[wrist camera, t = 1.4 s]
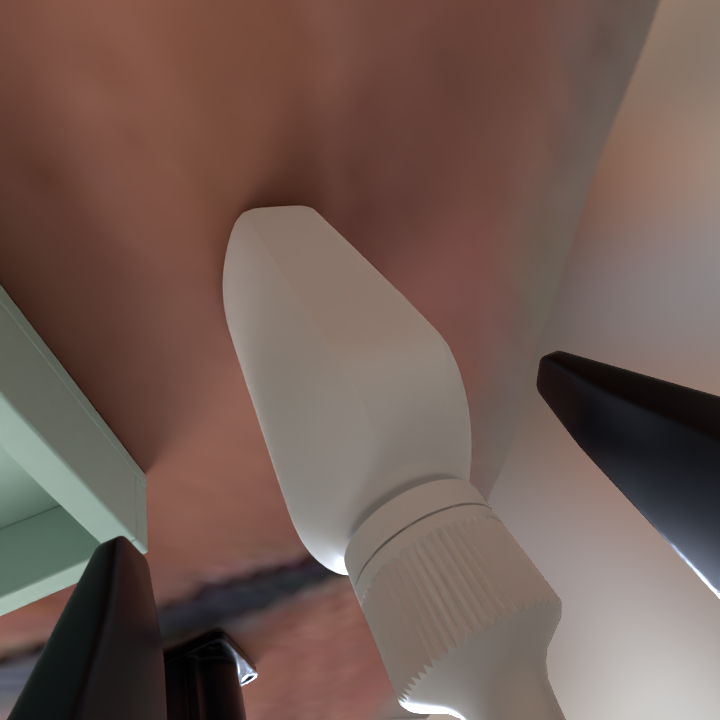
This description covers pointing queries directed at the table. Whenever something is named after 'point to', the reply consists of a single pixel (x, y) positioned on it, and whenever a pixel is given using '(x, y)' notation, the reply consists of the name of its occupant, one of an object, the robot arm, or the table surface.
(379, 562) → the eye dropper bottle
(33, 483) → the green tray
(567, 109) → the table surface
